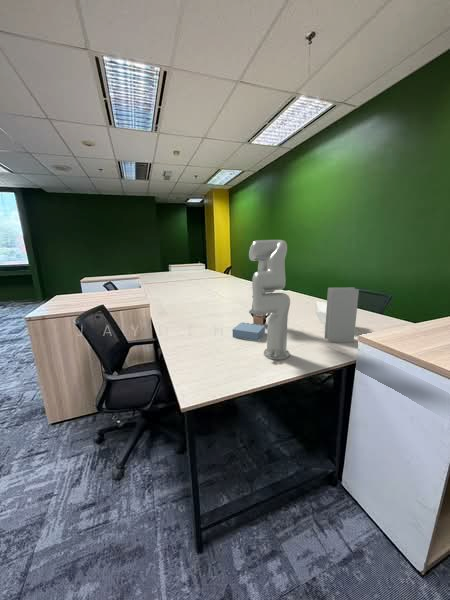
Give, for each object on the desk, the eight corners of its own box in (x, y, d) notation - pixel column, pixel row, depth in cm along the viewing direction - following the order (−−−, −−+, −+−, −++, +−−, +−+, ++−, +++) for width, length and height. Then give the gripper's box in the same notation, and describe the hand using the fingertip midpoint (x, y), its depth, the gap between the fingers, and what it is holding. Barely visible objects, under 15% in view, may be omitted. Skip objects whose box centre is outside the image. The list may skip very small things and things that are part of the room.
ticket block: (257, 341, 139) (258, 332, 138) (232, 337, 146) (232, 328, 145) (265, 332, 152) (265, 324, 151) (241, 329, 159) (241, 321, 158)
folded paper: (341, 306, 144) (356, 304, 154) (308, 299, 164) (323, 298, 173) (337, 333, 147) (353, 330, 157) (305, 323, 167) (321, 321, 176)
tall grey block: (349, 338, 140) (354, 287, 133) (353, 342, 134) (359, 289, 128) (324, 338, 141) (328, 287, 135) (327, 341, 136) (331, 289, 129)
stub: (261, 326, 162) (261, 318, 161) (253, 325, 165) (253, 317, 163) (265, 323, 170) (265, 314, 168) (257, 322, 172) (257, 313, 171)
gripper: (245, 298, 164) (246, 323, 167) (270, 300, 156) (270, 326, 160) (249, 296, 170) (249, 320, 174) (273, 297, 163) (273, 323, 167)
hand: (259, 323), depth 167 cm, fingers closed on stub, 6 cm apart
